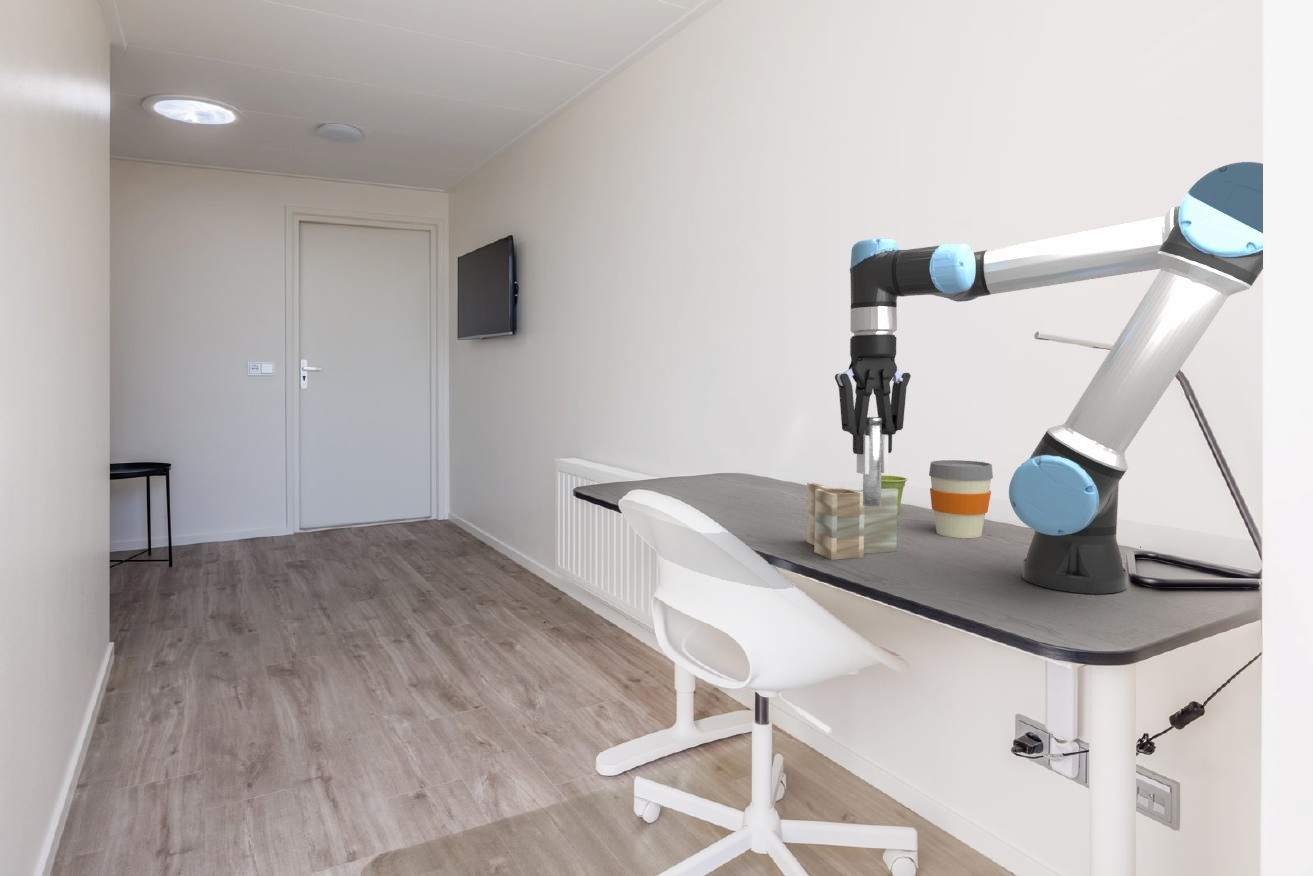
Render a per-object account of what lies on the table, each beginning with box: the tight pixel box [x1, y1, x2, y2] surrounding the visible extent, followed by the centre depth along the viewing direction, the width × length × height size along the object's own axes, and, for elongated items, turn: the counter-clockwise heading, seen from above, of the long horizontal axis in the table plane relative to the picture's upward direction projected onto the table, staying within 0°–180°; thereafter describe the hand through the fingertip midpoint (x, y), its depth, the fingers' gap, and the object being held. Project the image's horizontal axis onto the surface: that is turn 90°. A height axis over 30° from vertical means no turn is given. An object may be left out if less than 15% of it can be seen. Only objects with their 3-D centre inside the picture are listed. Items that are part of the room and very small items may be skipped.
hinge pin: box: [862, 416, 882, 507], centre depth 134 cm, size 3×3×15 cm
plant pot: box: [881, 474, 908, 515], centre depth 191 cm, size 9×9×9 cm
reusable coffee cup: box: [928, 459, 994, 539], centre depth 166 cm, size 13×13×15 cm
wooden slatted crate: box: [805, 482, 898, 561], centre depth 152 cm, size 15×15×12 cm
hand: (872, 472), depth 134 cm, fingers closed on hinge pin, 3 cm apart
